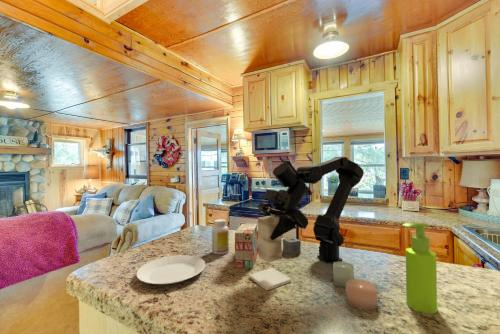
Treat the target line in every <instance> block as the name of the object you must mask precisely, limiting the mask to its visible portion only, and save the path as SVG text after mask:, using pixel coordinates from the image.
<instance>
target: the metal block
mask: <svg viewBox="0 0 500 334" xmlns="http://www.w3.org/2000/svg"><path fill="white" fill-rule="evenodd" d="M278 223H279V217H278V216H276V217H274V216H266V217H264V216H260V217H257V226H258V255H257V258H259V259H261V260H263V261H265V262H267V263H272V262H275V261H279V260H282V258H283V257H282V256H283V255H282V254H283V253H282V251H283V244H282V235H281V236H279V237H278V238H276V239H274V240H272V239H271V238H270V237H271V235H272V233H273V231H274V229H275V228H276V226H277V224H278Z"/></svg>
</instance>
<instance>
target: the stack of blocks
mask: <svg viewBox="0 0 500 334" xmlns="http://www.w3.org/2000/svg"><path fill="white" fill-rule="evenodd" d="M257 258H258V223H241V224H240V226H239V227H238V228H237V229H236V230H235V232H234V268H235V269H247V270H248V269H250V270H251V269H252V270H253V269H254V266H255V264H256V262H257Z"/></svg>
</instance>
